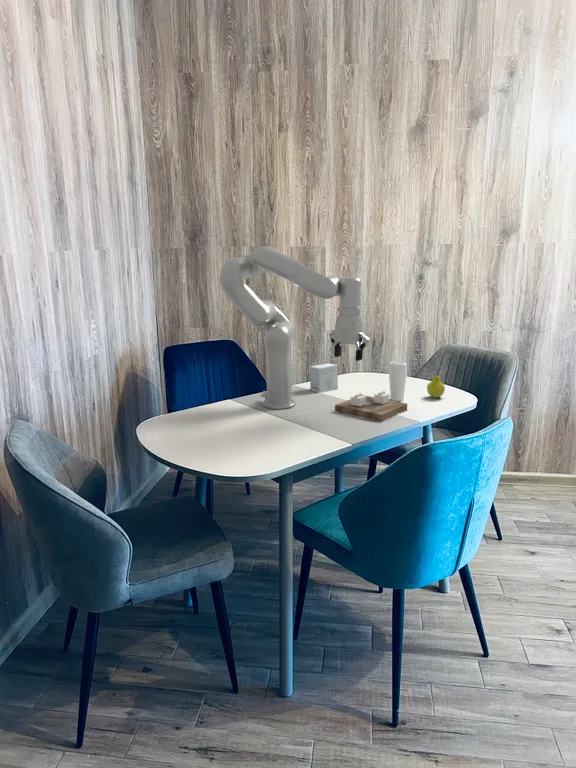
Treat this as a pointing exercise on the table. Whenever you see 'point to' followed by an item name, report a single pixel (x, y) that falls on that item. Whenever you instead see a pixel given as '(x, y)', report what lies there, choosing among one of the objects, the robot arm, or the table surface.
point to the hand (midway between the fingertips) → (348, 358)
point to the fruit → (436, 387)
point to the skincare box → (324, 377)
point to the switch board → (372, 409)
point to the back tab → (381, 397)
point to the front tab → (358, 400)
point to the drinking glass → (397, 380)
